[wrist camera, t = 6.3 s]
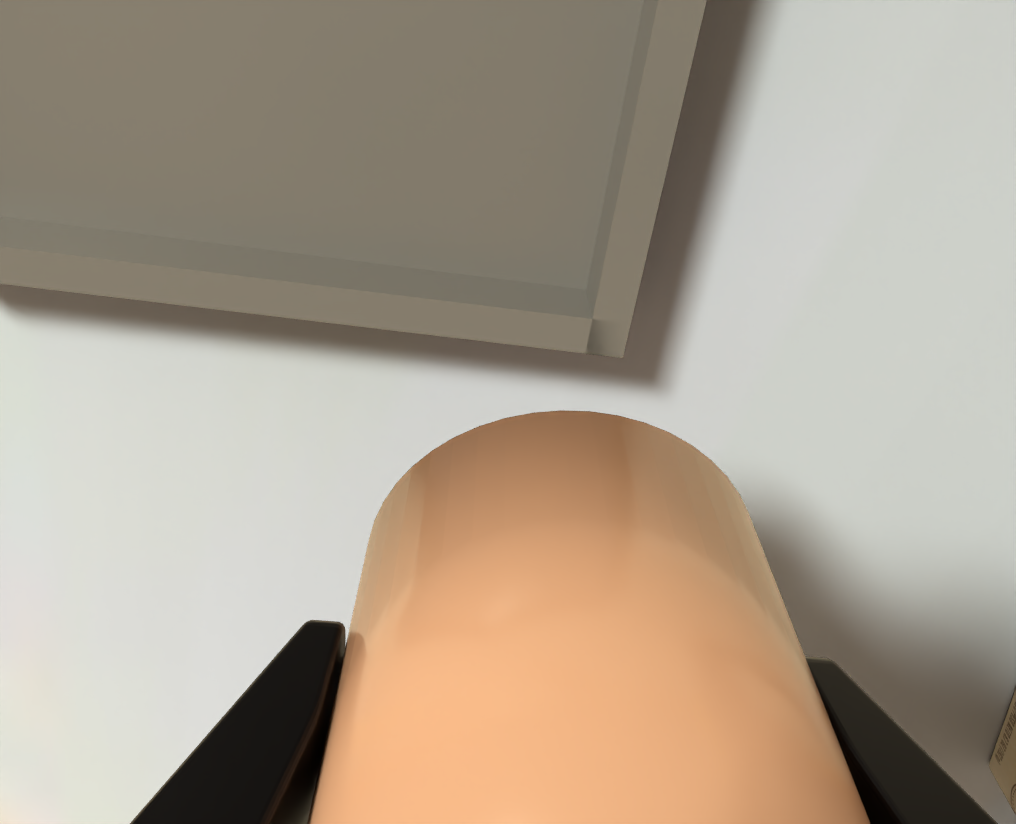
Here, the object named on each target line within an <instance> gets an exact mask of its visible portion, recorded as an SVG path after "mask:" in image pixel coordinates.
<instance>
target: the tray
mask: <svg viewBox="0 0 1016 824" xmlns="http://www.w3.org/2000/svg"><path fill="white" fill-rule="evenodd" d="M706 2H707V0H0V284H5V285H14V286H22V287H30V288H39V289H47V290H56V291H64V292H72V293H81V294H89V295H98V296H106V297H114V298H123V299H131V300H139V301H148V302H156V303H165V304H173V305H181V306H190V307H198V308H207V309H215V310H223V311H232V312H240V313H249V314H257V315H265V316H274V317H282V318H291V319H299V320H307V321H316V322H324V323H332V324H341V325H349V326H358V327H366V328H374V329H383V330H391V331H400V332H408V333H416V334H425V335H433V336H442V337H450V338H458V339H467V340H475V341H483V342H492V343H500V344H509V345H517V346H525V347H534V348H542V349H551V350H559V351H567V352H576V353H584V354H593V355H601V356H609V357H618V358H623V356H624V351H625V347H626V343H627V339H628V334H629V330H630V326H631V321H632V317H633V313H634V309H635V304H636V300H637V296H638V292H639V287H640V283H641V279H642V275H643V270H644V266H645V262H646V258H647V253H648V249H649V245H650V240H651V236H652V232H653V228H654V223H655V219H656V215H657V211H658V206H659V202H660V198H661V194H662V189H663V185H664V181H665V176H666V172H667V168H668V164H669V159H670V155H671V151H672V147H673V142H674V138H675V134H676V130H677V125H678V121H679V117H680V112H681V108H682V104H683V100H684V95H685V91H686V87H687V83H688V78H689V74H690V70H691V66H692V61H693V57H694V53H695V49H696V44H697V40H698V36H699V31H700V27H701V23H702V19H703V14H704V10H705V6H706Z"/></svg>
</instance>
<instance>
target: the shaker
mask: <svg viewBox="0 0 1016 824" xmlns="http://www.w3.org/2000/svg"><path fill="white" fill-rule="evenodd" d="M307 824H870V821H869V818H868V816H867V813H866V811H865V808H864V806H863V803H862V801H861V798H860V795H859V793H858V790H857V788H856V785H855V783H854V780H853V778H852V775H851V773H850V770H849V767H848V765H847V762H846V760H845V757H844V755H843V752H842V750H841V747H840V745H839V742H838V739H837V737H836V734H835V732H834V729H833V727H832V724H831V722H830V719H829V717H828V714H827V711H826V709H825V706H824V704H823V701H822V699H821V696H820V694H819V691H818V689H817V686H816V683H815V681H814V678H813V676H812V673H811V671H810V668H809V666H808V663H807V661H806V658H805V655H804V653H803V650H802V648H801V645H800V643H799V640H798V638H797V635H796V633H795V630H794V627H793V625H792V622H791V620H790V617H789V615H788V612H787V610H786V607H785V605H784V602H783V599H782V597H781V594H780V592H779V589H778V587H777V584H776V582H775V579H774V577H773V574H772V571H771V569H770V566H769V564H768V561H767V559H766V556H765V554H764V551H763V549H762V546H761V543H760V541H759V538H758V536H757V533H756V531H755V528H754V526H753V523H752V521H751V518H750V515H749V513H748V511H747V509H746V507H745V504H744V502H743V500H742V498H741V496H740V494H739V493H738V491H737V490H736V488H735V487H734V486H733V484H732V483H731V481H730V480H729V478H728V477H727V476H726V475H725V474H724V473H723V472H722V471H721V470H720V469H719V468H718V467H717V466H716V464H715V463H714V462H713V461H712V460H711V459H709V458H708V457H707V456H705V455H704V454H703V453H701V452H700V451H699V450H697V449H696V448H695V447H693V446H692V445H690V444H689V443H687V442H685V441H683V440H682V439H680V438H678V437H676V436H675V435H673V434H671V433H669V432H667V431H664V430H662V429H659V428H657V427H654V426H652V425H649V424H647V423H644V422H640V421H637V420H633V419H629V418H625V417H622V416H618V415H611V414H604V413H597V412H590V411H550V412H537V413H530V414H524V415H519V416H514V417H509V418H504V419H501V420H498V421H495V422H491V423H488V424H485V425H482V426H479V427H476V428H474V429H472V430H470V431H467V432H465V433H463V434H461V435H458V436H456V437H454V438H452V439H451V440H449V441H447V442H446V443H444V444H442V445H441V446H439V447H437V448H436V449H434V450H432V451H431V452H430V453H429V454H427V455H426V456H425V457H424V458H422V459H421V460H420V461H419V462H417V463H416V464H415V465H414V466H412V467H411V468H410V469H409V470H408V472H407V473H406V474H405V475H404V476H403V477H402V478H401V479H400V480H399V481H398V482H397V483H396V484H395V486H394V487H393V489H392V490H391V492H390V493H389V495H388V496H387V497H386V499H385V500H384V502H383V504H382V506H381V508H380V510H379V512H378V514H377V516H376V518H375V520H374V524H373V527H372V531H371V534H370V538H369V541H368V546H367V550H366V555H365V560H364V564H363V569H362V573H361V578H360V583H359V587H358V592H357V596H356V601H355V606H354V610H353V615H352V619H351V624H350V629H349V633H348V638H347V642H346V647H345V652H344V656H343V661H342V665H341V670H340V675H339V679H338V684H337V688H336V693H335V698H334V702H333V707H332V711H331V716H330V721H329V725H328V730H327V734H326V739H325V744H324V748H323V753H322V757H321V762H320V767H319V771H318V776H317V780H316V785H315V790H314V794H313V799H312V803H311V808H310V813H309V817H308V822H307Z"/></svg>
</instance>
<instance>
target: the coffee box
mask: <svg viewBox="0 0 1016 824" xmlns="http://www.w3.org/2000/svg"><path fill="white" fill-rule="evenodd" d="M989 768H990V770H991V772H992V773H993V775H994V777H995V779H996V781H997V783H998V784H999V786H1000V788H1001V790H1002V791H1003V793H1004V795H1005V797H1006V799H1007V800H1008V802H1009V804H1010V806H1011V807H1012V809H1013V811H1014V813H1015V814H1016V690H1015V692H1014V695H1013V698H1012V701H1011V704H1010V707H1009V710H1008V712H1007V715H1006V718H1005V721H1004V723H1003V726H1002V729H1001V732H1000V735H999V738H998V740H997V743H996V746H995V749H994V752H993V755H992V757H991V760H990V763H989Z"/></svg>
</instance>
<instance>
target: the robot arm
mask: <svg viewBox="0 0 1016 824" xmlns="http://www.w3.org/2000/svg"><path fill="white" fill-rule="evenodd" d="M344 652H345V627H344V625H343V624H342V623H340V622H334V621H321V620H310V621H308V622H306V623H305V624H304V625H303V626H302V627H301V628H300V629H299V630H298V631H297V632H296V634H295V635H294V636H293V637H292V638H291V639H290V640H289V642H288V643H287V644H286V645H285V646H284V647H283V648H282V650H281V651H280V652H279V653H278V654H277V655H276V656H275V658H274V659H273V660H272V661H271V662H270V663H269V665H268V666H267V667H266V668H265V669H264V670H263V671H262V673H261V674H260V675H259V676H258V677H257V678H256V679H255V681H254V682H253V683H252V684H251V685H250V686H249V687H248V689H247V690H246V691H245V692H244V693H243V694H242V696H241V697H240V698H239V699H238V700H237V701H236V702H235V704H234V705H233V706H232V707H231V708H230V709H229V710H228V712H227V713H226V714H225V715H224V716H223V717H222V718H221V720H220V721H219V722H218V723H217V724H216V725H215V726H214V728H213V729H212V730H211V731H210V732H209V733H208V735H207V736H206V737H205V738H204V739H203V740H202V741H201V743H200V744H199V745H198V746H197V747H196V748H195V749H194V751H193V752H192V753H191V754H190V755H189V756H188V757H187V759H186V760H185V761H184V762H183V763H182V764H181V766H180V767H179V768H178V769H177V770H176V771H175V772H174V774H173V775H172V776H171V777H170V778H169V779H168V780H167V782H166V783H165V784H164V785H163V786H162V787H161V788H160V790H159V791H158V792H157V793H156V794H155V795H154V797H153V798H152V799H151V800H150V801H149V802H148V803H147V805H146V806H145V807H144V808H143V809H142V810H141V811H140V813H139V814H138V815H137V816H136V817H135V818H134V819H133V821H132V822H131V823H130V824H307V822H308V817H309V813H310V808H311V803H312V799H313V794H314V790H315V785H316V780H317V776H318V771H319V767H320V762H321V757H322V753H323V748H324V744H325V739H326V734H327V730H328V725H329V721H330V716H331V711H332V707H333V702H334V698H335V693H336V688H337V684H338V679H339V675H340V670H341V665H342V661H343V656H344ZM805 658H806V661H807V663H808V666H809V668H810V671H811V673H812V676H813V678H814V681H815V683H816V686H817V689H818V691H819V694H820V696H821V699H822V701H823V704H824V706H825V709H826V711H827V714H828V717H829V719H830V722H831V724H832V727H833V729H834V732H835V734H836V737H837V739H838V742H839V745H840V747H841V750H842V752H843V755H844V757H845V760H846V762H847V765H848V767H849V770H850V773H851V775H852V778H853V780H854V783H855V785H856V788H857V790H858V793H859V795H860V798H861V801H862V803H863V806H864V808H865V811H866V813H867V816H868V818H869V821H870V824H998V823H997V822H996V821H995V820H994V819H993V818H992V817H991V816H990V815H988V814H987V813H986V812H985V811H984V810H983V809H982V808H981V807H980V806H979V805H978V804H977V803H976V802H975V801H974V800H973V799H972V798H971V797H970V796H969V795H968V794H967V793H966V792H965V791H964V790H963V789H962V788H961V787H960V786H959V785H958V784H957V783H956V782H955V781H954V780H953V779H952V778H951V777H950V776H949V775H948V774H947V773H946V772H945V771H944V770H943V769H942V768H941V767H940V766H939V765H938V764H937V763H936V762H935V761H934V760H933V759H932V758H931V757H930V756H929V755H928V754H927V753H926V752H925V751H924V750H923V749H922V748H921V747H920V746H919V745H918V744H917V743H916V742H915V741H914V740H913V739H912V738H911V737H910V736H909V735H908V734H907V733H906V732H905V731H904V730H903V729H902V728H901V727H900V726H899V725H898V724H897V723H896V722H895V721H894V720H893V719H892V718H891V717H890V716H889V715H888V714H887V713H886V712H885V711H884V710H883V709H882V708H881V707H880V706H879V705H878V704H877V703H876V702H875V701H874V700H873V699H872V698H871V697H870V696H869V695H868V694H867V693H866V692H865V691H864V690H863V689H862V688H861V687H860V686H858V685H857V684H856V683H855V682H854V681H853V680H852V679H851V678H850V677H849V676H848V675H847V674H846V673H845V672H844V671H843V670H842V669H841V668H840V667H839V666H838V665H837V664H836V663H835V662H833V661H832V660H830V659H827V658H818V657H805Z"/></svg>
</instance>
